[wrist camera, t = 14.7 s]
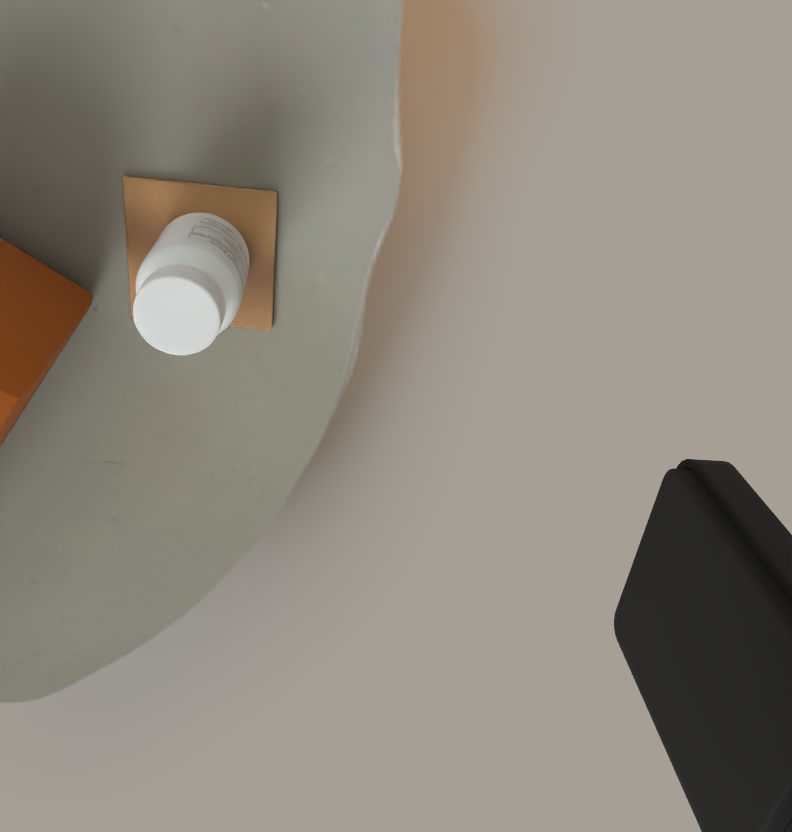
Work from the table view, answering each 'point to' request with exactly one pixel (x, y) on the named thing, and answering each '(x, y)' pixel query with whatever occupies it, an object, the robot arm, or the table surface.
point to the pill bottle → (191, 284)
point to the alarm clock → (31, 326)
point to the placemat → (241, 207)
